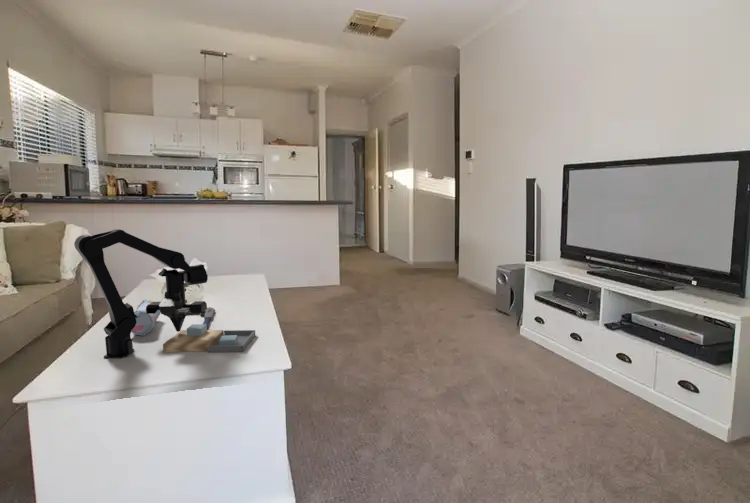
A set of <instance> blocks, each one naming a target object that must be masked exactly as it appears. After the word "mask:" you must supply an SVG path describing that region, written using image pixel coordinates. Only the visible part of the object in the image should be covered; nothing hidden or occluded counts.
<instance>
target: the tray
mask: <svg viewBox="0 0 750 503" xmlns="http://www.w3.org/2000/svg"><path fill="white" fill-rule="evenodd" d="M227 335H237V341H238V342H237V345H231V346H220V344H219V341H218V342H217V343H216V344H215V345H214V346H208V347H209V351H207V352H208V353H243V352H244V351H245V350H246V349H247V347H248V346H249V345H250V343H251V342H252V341H253V339H254V338H255V337H256V330H255V329H251V330H250V329H249V330H248V329H247V330H246V329H245V330H244V329H243V330H242V329H241V330H240V329H235V330H234V329H233V330H229V329H227V330H225V329H224V336H227Z"/></svg>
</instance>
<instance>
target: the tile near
mask: <svg viewBox="0 0 750 503" xmlns="http://www.w3.org/2000/svg"><path fill="white" fill-rule="evenodd" d="M237 342H238V341H237V335H227V336H222V337H221V338H220V340H219V344H220V346H231V345H237Z"/></svg>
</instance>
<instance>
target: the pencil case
mask: <svg viewBox="0 0 750 503" xmlns="http://www.w3.org/2000/svg"><path fill="white" fill-rule="evenodd" d="M152 302H155V301H154V300H151V299H142V300H141V301H140V302H139V303H138V304H137V305H136V306H137V308H136V310H134V313H135V315H136V316H137V318H136V321H137V323H136V325H135V327H134V328H133V329H132V331H131V333H132V334H134V335H138V336H146V335H147V334H148V333H149V332H151V330H153V328H154V326H155V324H156V322H157V320H158V318H160V317H159V316H160V315H161V312H160V310H158V311H157V312H156V313H152V314H147V313H146V307H147V305H149V304H151V303H152Z"/></svg>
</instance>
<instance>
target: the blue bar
mask: <svg viewBox="0 0 750 503" xmlns="http://www.w3.org/2000/svg"><path fill="white" fill-rule="evenodd" d="M215 312H216V309H215V308H214V307H208V306H207V309H206V310H204V311H203V312H202V313H191V312H189V313H187V315H186V316H195V315H198V314H200V315H199V316H200V318H203V317H204V321H203V323H202V324H207V330H209V325H210V323H211V321H213V318H214V315H215Z"/></svg>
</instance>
